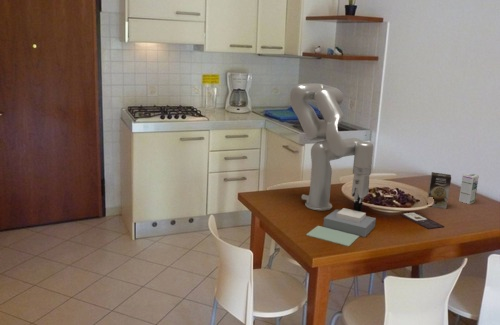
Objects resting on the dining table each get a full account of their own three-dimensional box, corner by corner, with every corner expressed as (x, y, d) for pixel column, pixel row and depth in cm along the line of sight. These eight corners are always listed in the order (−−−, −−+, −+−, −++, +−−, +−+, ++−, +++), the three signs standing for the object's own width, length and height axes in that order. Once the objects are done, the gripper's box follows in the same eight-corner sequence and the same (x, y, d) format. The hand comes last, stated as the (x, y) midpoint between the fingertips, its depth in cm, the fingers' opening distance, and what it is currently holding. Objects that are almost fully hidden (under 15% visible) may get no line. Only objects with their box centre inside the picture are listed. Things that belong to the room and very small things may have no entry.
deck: (323, 226, 204) (324, 218, 203) (335, 217, 216) (336, 209, 215) (364, 237, 195) (365, 228, 194) (374, 226, 207) (376, 218, 206)
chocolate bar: (428, 228, 207) (400, 214, 223) (428, 230, 208) (400, 216, 224) (444, 226, 211) (415, 212, 227) (444, 228, 211) (415, 214, 227)
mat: (306, 235, 194) (306, 234, 194) (317, 226, 204) (317, 225, 204) (348, 246, 185) (348, 245, 185) (359, 236, 196) (359, 235, 195)
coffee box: (426, 206, 238) (431, 174, 234) (426, 202, 244) (431, 171, 240) (446, 209, 235) (451, 177, 231) (445, 205, 241) (450, 174, 237)
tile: (336, 217, 205) (336, 212, 204) (343, 212, 211) (343, 207, 211) (359, 222, 200) (359, 218, 199) (365, 217, 206) (365, 213, 206)
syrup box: (469, 204, 244) (474, 177, 240) (458, 201, 248) (462, 174, 245) (474, 202, 247) (479, 175, 244) (463, 199, 252) (468, 172, 248)
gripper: (365, 175, 199) (360, 217, 204) (375, 168, 212) (370, 208, 216) (347, 172, 203) (343, 213, 207) (358, 165, 215) (354, 204, 220)
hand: (357, 210), depth 212 cm, fingers closed
